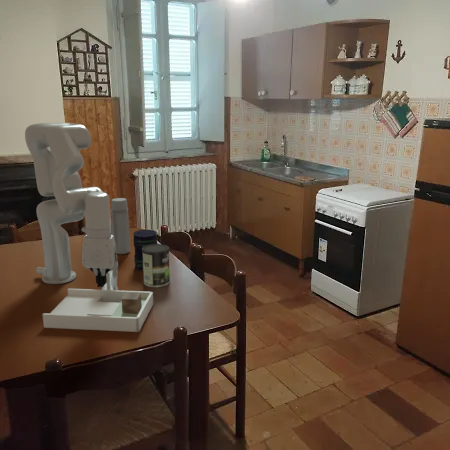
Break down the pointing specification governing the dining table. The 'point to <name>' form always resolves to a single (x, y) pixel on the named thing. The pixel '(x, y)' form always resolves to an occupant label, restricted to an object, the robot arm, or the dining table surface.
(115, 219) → the water bottle
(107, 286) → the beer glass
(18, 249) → the dining table surface
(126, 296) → the walnut block
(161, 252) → the coffee can
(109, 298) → the box
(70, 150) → the robot arm
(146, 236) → the storage jar
